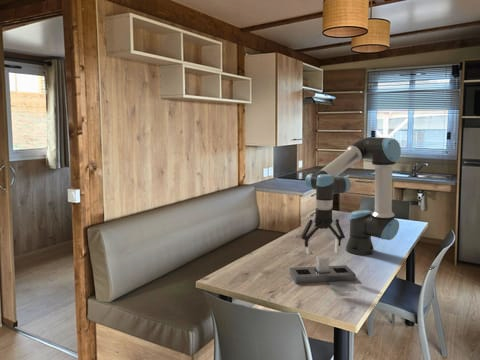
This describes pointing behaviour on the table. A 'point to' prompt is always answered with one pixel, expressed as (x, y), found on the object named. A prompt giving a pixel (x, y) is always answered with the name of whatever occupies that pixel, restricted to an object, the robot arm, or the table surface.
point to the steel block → (322, 264)
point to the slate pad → (342, 286)
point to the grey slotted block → (333, 275)
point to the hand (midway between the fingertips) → (322, 253)
